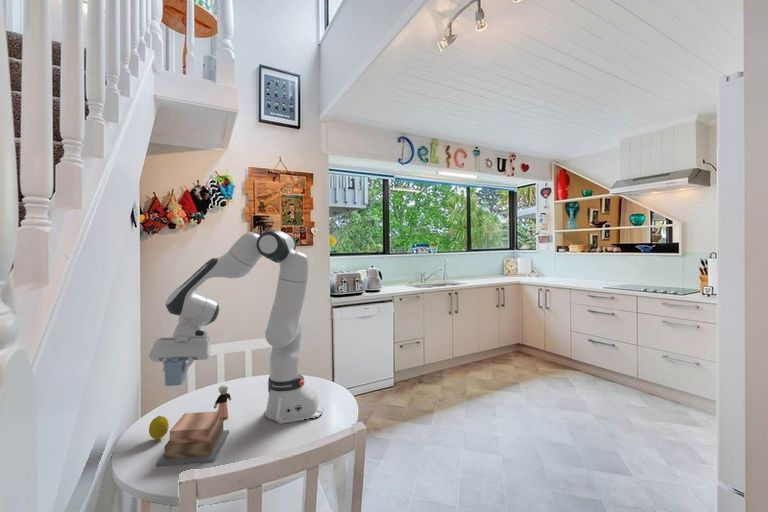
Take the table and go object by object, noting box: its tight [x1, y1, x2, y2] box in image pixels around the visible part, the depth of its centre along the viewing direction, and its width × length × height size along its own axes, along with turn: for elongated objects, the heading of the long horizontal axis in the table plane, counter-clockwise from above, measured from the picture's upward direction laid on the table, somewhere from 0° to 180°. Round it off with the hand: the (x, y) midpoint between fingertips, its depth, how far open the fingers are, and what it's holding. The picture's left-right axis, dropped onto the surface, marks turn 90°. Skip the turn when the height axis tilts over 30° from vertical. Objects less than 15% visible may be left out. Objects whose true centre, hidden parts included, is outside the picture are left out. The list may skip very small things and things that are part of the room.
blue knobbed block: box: [164, 358, 187, 387], centre depth 124 cm, size 5×5×9 cm
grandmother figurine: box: [213, 384, 232, 422], centre depth 129 cm, size 8×4×13 cm, turn 168°
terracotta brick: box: [163, 410, 224, 459], centre depth 110 cm, size 13×13×8 cm
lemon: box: [148, 415, 170, 441], centre depth 114 cm, size 6×6×8 cm
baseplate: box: [156, 429, 230, 467], centre depth 110 cm, size 16×16×1 cm
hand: (174, 371), depth 123 cm, fingers closed on blue knobbed block, 5 cm apart
